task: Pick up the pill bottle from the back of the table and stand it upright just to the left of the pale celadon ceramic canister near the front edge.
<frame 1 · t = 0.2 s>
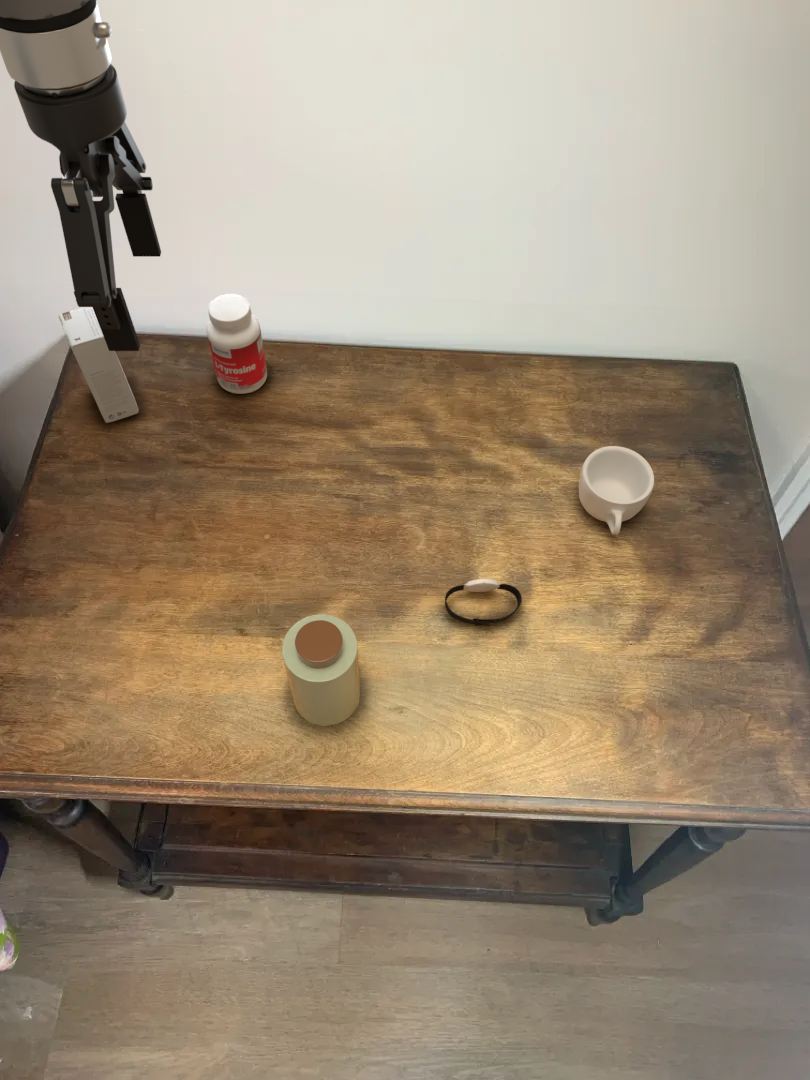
hand: (136, 299, 78), 20 cm above the table, tool pointing down, fingers open, 13 cm apart
canister: (326, 693, 77), on the table
teacup: (607, 513, 90), on the table
watch: (481, 609, 83), on the table
cosmetic box: (115, 403, 98), on the table
pill bottle: (243, 379, 100), on the table
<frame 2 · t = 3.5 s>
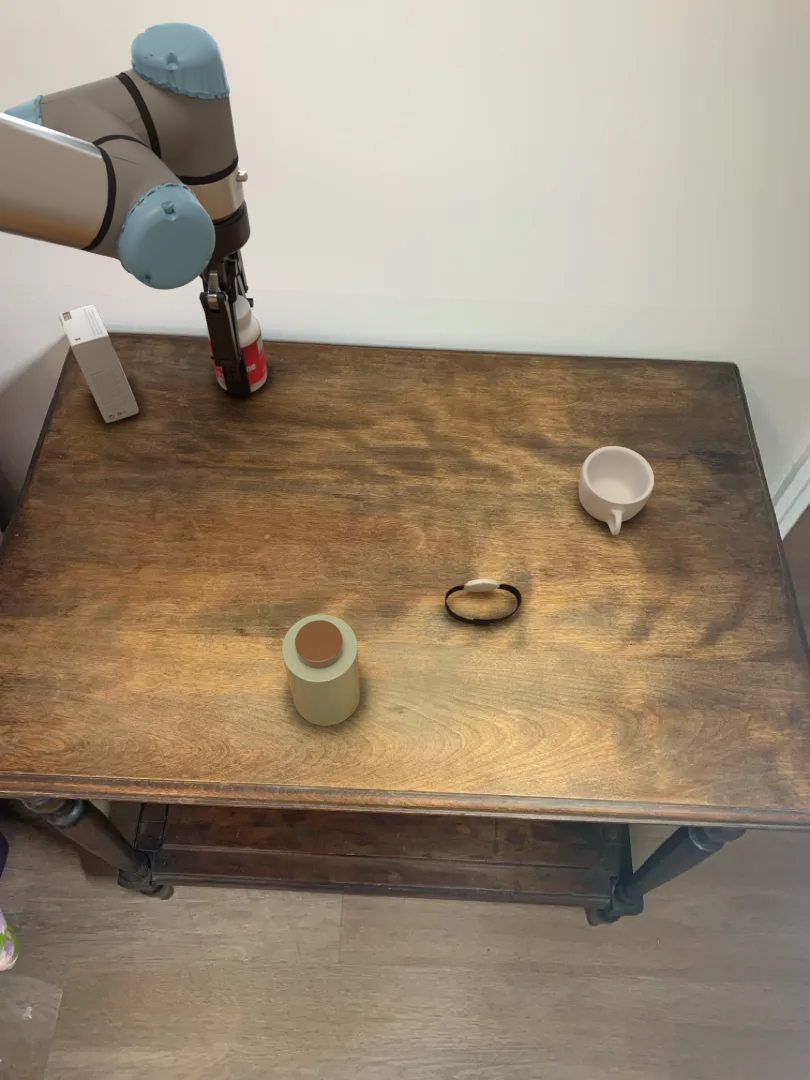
hand: (242, 372, 100), 1 cm above the table, tool pointing down, fingers closed on pill bottle, 6 cm apart
pill bottle: (243, 379, 100), on the table, touching gripper
everything else where it was.
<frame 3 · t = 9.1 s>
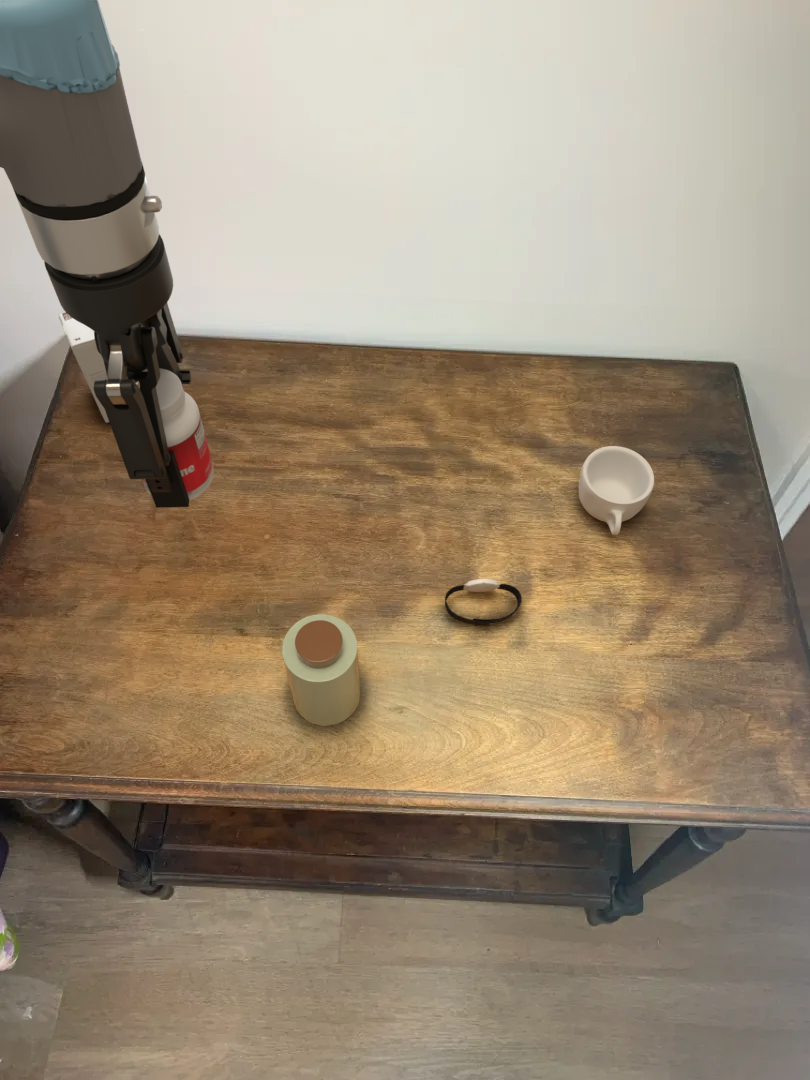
hand: (177, 471, 71), 17 cm above the table, tool pointing down, fingers closed on pill bottle, 6 cm apart
pill bottle: (180, 479, 72), point 16 cm above the table, touching gripper
everything else where it was.
when the fingers open (1 cm above the table, at t = 14.5 s): pill bottle stays where it is, on the table.
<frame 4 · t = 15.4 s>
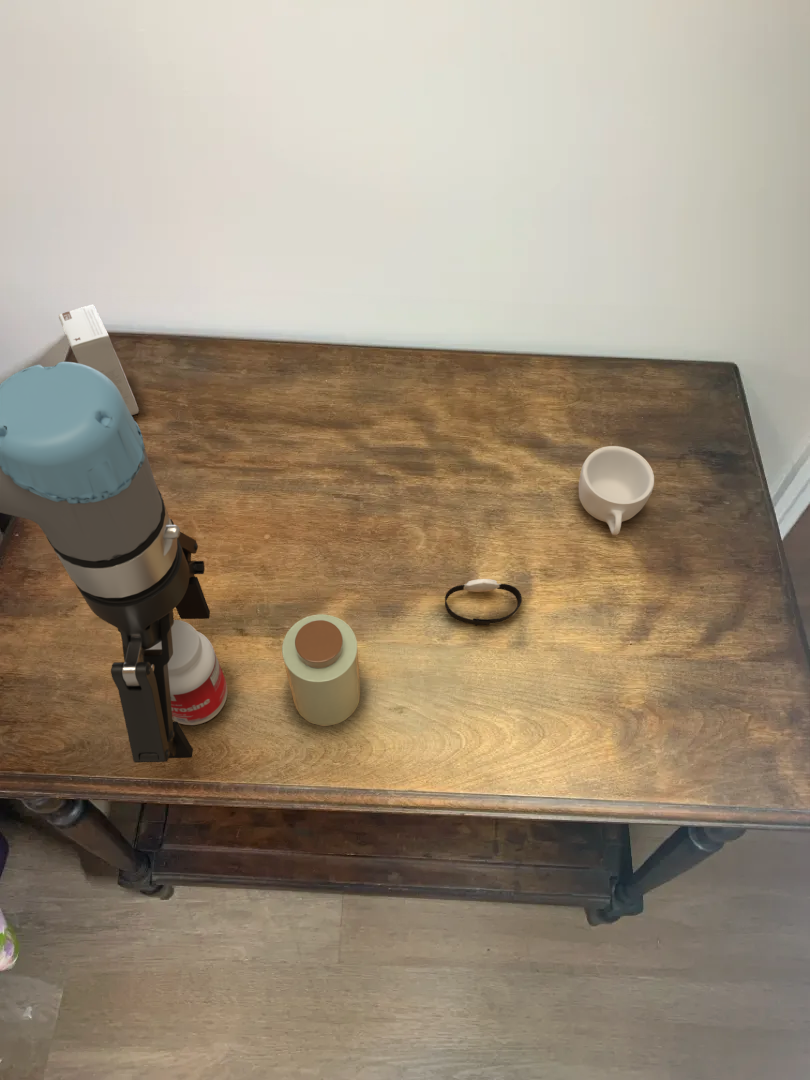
hand: (186, 681, 74), 3 cm above the table, tool pointing down, fingers open, 13 cm apart
pill bottle: (196, 697, 77), on the table
everything else where it was.
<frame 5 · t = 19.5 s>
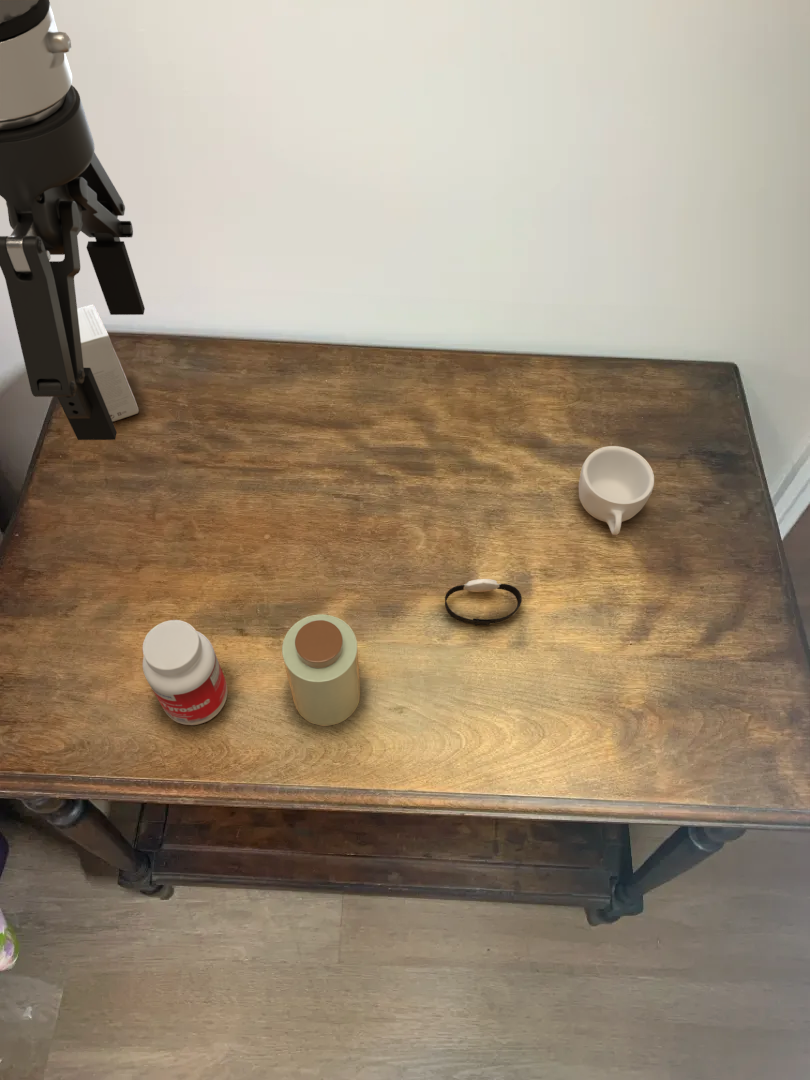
hand: (113, 370, 64), 27 cm above the table, tool pointing down, fingers open, 13 cm apart
nothing on the table moved.
at the end: pill bottle inside the target area on the table beside the canister (0.1 cm from its centre), on the table; pill bottle tilted 0° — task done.
